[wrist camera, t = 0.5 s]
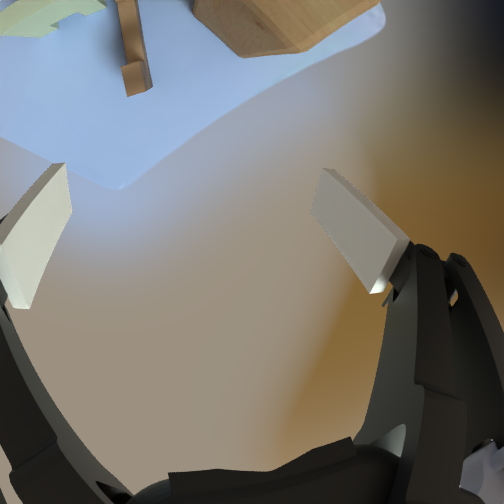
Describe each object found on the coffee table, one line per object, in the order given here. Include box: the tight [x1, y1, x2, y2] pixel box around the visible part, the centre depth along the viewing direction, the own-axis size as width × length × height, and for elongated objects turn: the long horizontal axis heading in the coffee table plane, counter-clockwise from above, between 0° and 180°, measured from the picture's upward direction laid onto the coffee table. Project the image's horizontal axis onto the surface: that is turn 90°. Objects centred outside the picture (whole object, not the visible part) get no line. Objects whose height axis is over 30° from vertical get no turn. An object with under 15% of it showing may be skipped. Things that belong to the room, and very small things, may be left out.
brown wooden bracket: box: [114, 0, 153, 97], centre depth 22 cm, size 16×2×8 cm, turn 7°
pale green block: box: [0, 0, 107, 38], centre depth 15 cm, size 10×3×11 cm, turn 97°
